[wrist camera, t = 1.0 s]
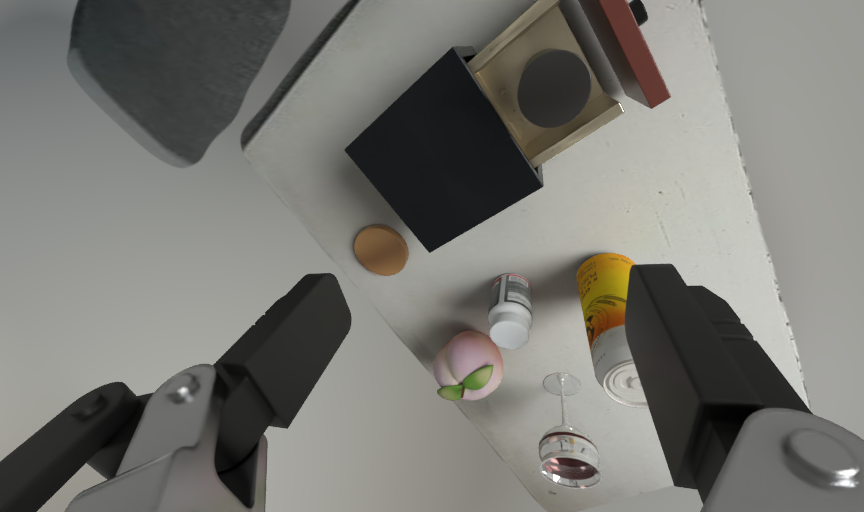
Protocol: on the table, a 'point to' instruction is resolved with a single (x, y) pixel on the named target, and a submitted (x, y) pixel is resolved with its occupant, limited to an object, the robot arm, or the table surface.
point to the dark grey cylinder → (554, 87)
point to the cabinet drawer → (551, 30)
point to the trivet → (381, 250)
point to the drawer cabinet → (445, 154)
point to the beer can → (609, 326)
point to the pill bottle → (510, 311)
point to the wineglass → (568, 444)
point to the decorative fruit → (468, 367)
